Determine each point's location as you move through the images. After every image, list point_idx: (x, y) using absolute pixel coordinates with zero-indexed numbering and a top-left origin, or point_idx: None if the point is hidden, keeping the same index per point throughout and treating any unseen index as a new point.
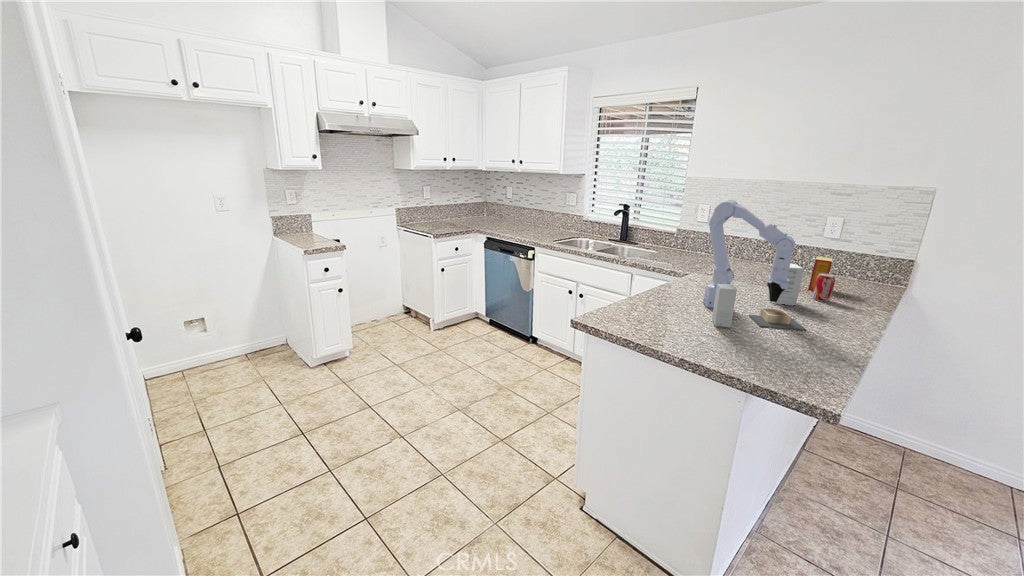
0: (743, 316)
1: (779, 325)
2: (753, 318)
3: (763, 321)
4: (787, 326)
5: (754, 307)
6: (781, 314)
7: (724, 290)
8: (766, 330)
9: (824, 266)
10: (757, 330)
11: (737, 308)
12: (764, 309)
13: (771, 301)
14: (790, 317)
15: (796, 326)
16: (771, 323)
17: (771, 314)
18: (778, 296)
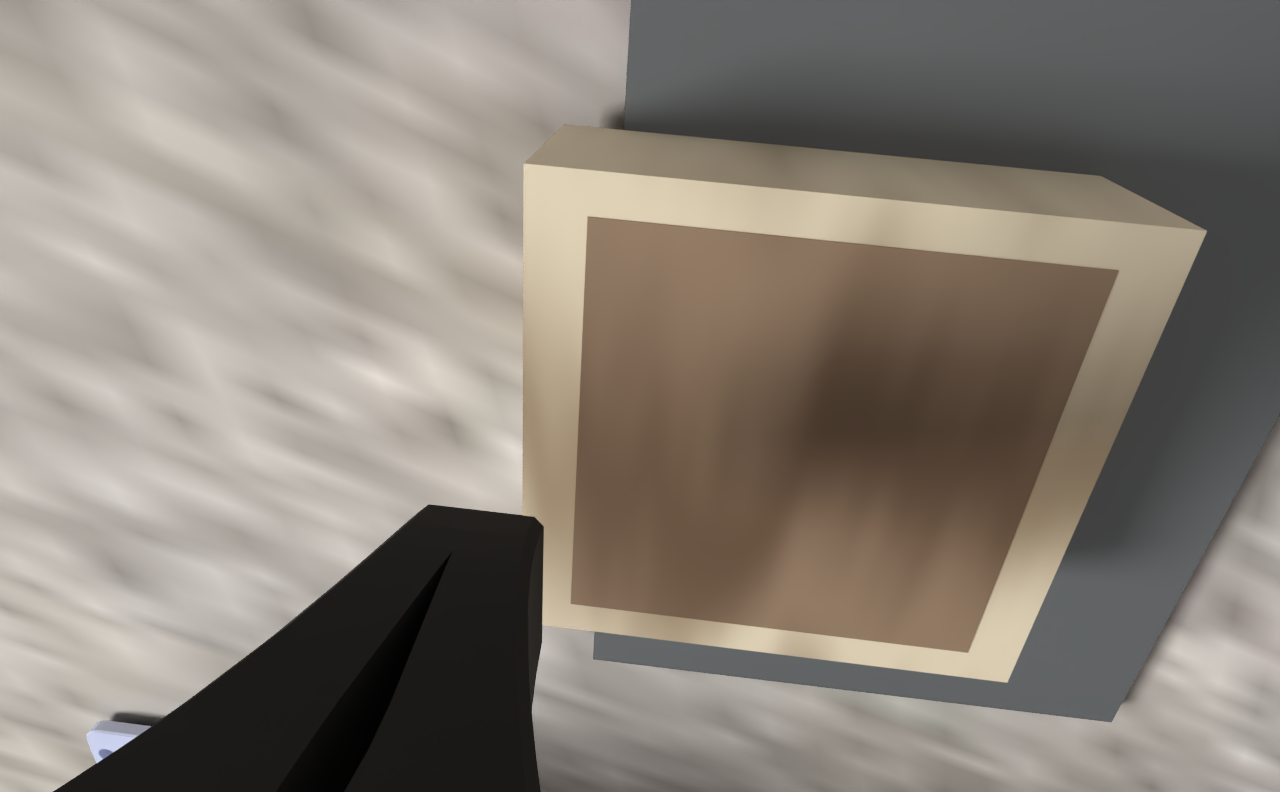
0: (641, 715)
1: (1147, 436)
2: (780, 677)
3: None
4: (1228, 302)
5: (39, 362)
6: (988, 409)
7: None
8: (1266, 686)
9: None
10: (1239, 785)
11: None
12: (636, 603)
13: (537, 638)
14: (1189, 246)
15: (1270, 72)
16: None
17: (978, 620)
18: (518, 686)
